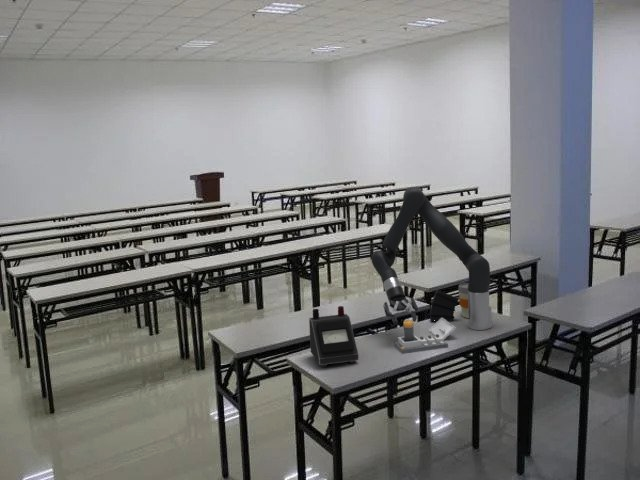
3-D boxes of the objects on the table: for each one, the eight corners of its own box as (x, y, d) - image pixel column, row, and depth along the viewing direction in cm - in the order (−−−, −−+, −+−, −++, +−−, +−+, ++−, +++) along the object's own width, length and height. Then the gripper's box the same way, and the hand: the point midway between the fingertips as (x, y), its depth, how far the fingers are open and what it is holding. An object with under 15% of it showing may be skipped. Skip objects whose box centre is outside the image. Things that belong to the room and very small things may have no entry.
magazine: (423, 316, 283) (436, 289, 280) (448, 327, 283) (461, 299, 281) (424, 319, 279) (437, 290, 277) (449, 329, 279) (462, 301, 277)
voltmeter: (319, 368, 231) (317, 319, 228) (310, 355, 247) (308, 309, 244) (358, 363, 235) (357, 315, 232) (347, 350, 250) (345, 305, 247)
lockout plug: (412, 342, 250) (411, 319, 248) (415, 345, 246) (414, 322, 244) (403, 343, 249) (402, 321, 248) (406, 346, 246) (405, 323, 244)
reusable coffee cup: (474, 320, 276) (474, 289, 274) (453, 316, 286) (452, 285, 284) (490, 315, 284) (490, 285, 282) (469, 310, 294) (468, 281, 292)
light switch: (460, 332, 255) (447, 323, 269) (453, 325, 253) (440, 316, 268) (446, 346, 254) (433, 335, 268) (439, 338, 253) (427, 328, 267)
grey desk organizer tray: (439, 339, 255) (438, 330, 255) (447, 347, 246) (447, 338, 245) (394, 345, 252) (394, 336, 251) (402, 353, 242) (401, 344, 242)
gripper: (380, 287, 254) (392, 320, 244) (411, 283, 257) (423, 315, 248) (377, 296, 259) (388, 329, 250) (406, 292, 263) (419, 323, 254)
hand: (405, 322), depth 249 cm, fingers open, 8 cm apart
